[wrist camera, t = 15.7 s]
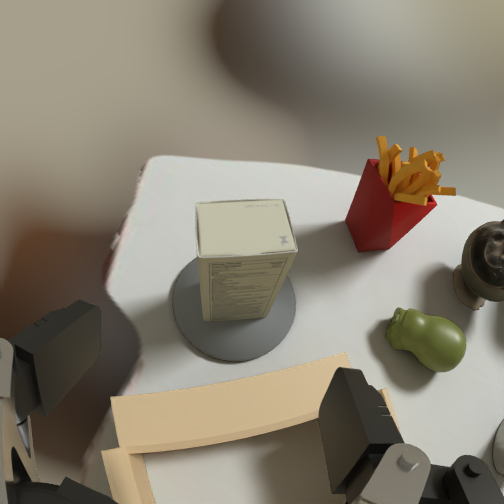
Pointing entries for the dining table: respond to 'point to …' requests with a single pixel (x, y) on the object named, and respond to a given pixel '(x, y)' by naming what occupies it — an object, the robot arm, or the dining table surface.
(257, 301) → the skincare box
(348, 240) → the dining table surface
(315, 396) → the carton
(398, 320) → the pear
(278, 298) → the coaster
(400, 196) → the french fries
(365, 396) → the robot arm
